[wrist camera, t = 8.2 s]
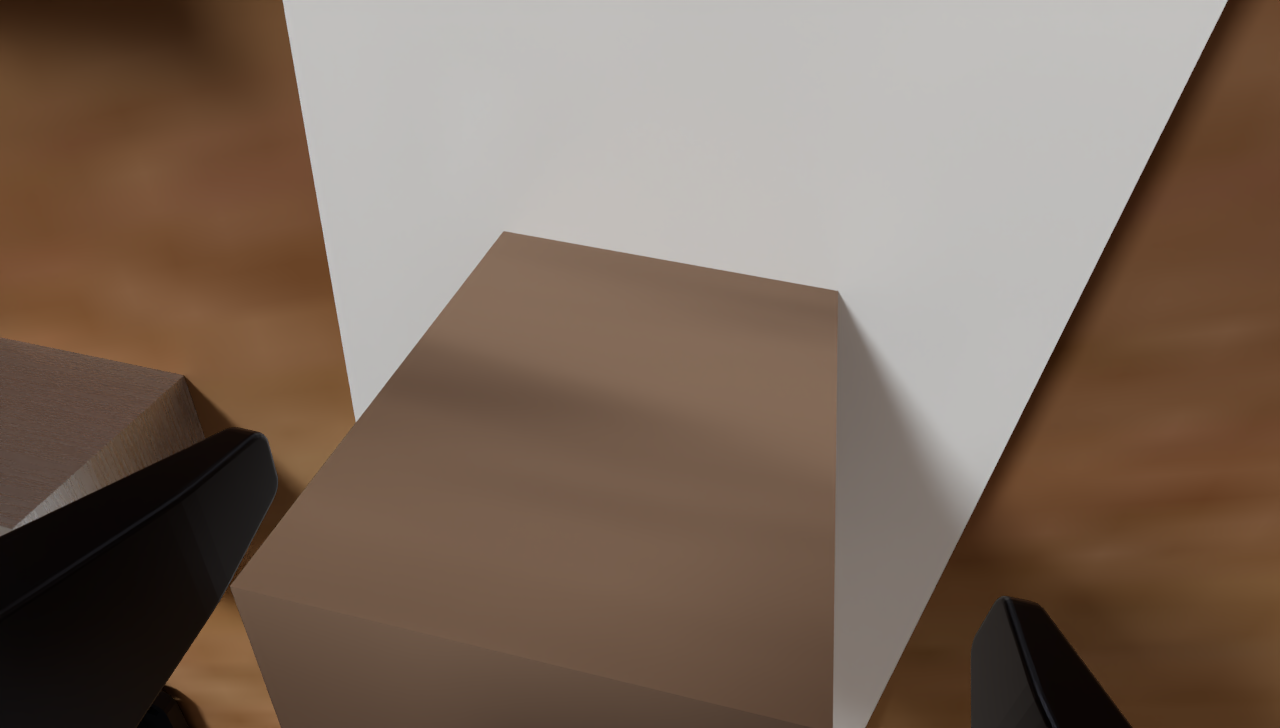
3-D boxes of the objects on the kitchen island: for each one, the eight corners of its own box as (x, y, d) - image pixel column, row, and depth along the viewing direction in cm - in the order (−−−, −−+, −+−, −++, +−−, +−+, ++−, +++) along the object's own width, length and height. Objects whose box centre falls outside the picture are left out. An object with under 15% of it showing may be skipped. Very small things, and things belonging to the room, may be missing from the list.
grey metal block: (235, 515, 17) (100, 677, 14) (73, 479, 18) (-92, 627, 15) (186, 372, 15) (12, 528, 12) (1, 334, 15) (-215, 476, 12)
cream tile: (832, 756, 18) (832, 792, 17) (416, 654, 19) (401, 684, 18) (1465, -584, 6) (1541, -629, 5) (225, -648, 7) (163, -692, 6)
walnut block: (772, 525, 13) (730, 957, 8) (508, 469, 13) (322, 844, 9) (837, 290, 10) (831, 732, 5) (503, 231, 11) (229, 586, 6)
